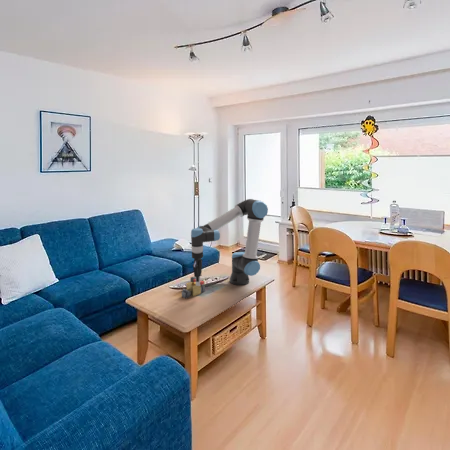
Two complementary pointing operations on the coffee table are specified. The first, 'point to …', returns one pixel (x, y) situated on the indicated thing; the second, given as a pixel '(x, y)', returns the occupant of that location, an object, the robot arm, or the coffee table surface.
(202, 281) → the lever
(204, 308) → the coffee table surface
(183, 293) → the valve
